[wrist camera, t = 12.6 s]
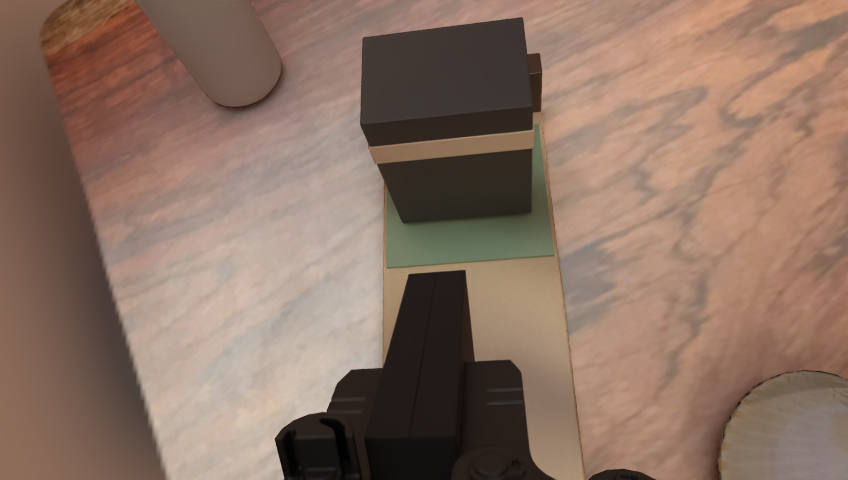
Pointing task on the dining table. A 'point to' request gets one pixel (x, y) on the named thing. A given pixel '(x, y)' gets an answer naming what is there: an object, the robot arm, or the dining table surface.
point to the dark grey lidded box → (451, 119)
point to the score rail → (504, 298)
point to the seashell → (788, 430)
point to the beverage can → (219, 46)
